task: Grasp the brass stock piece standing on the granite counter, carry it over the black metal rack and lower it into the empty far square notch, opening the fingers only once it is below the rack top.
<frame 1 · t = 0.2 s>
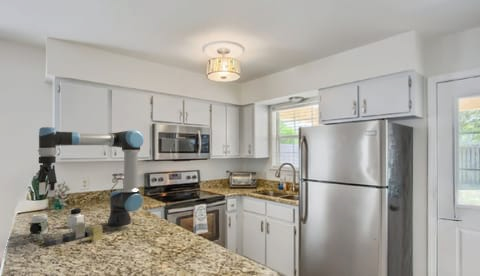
hand: (46, 195, 148), 27 cm above the countertop, fingers open, 13 cm apart
light grey upright block: (78, 237, 162), resting on rack
pneumatic valve: (39, 240, 160), on the countertop
rack: (69, 240, 158), on the countertop
brass stock piece: (95, 240, 158), on the countertop
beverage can: (39, 234, 171), on the countertop
medicine bottle: (75, 226, 188), on the countertop
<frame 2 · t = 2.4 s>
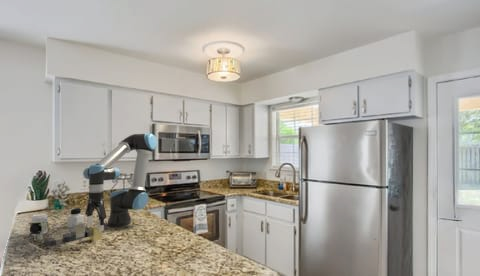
hand: (95, 229, 158), 6 cm above the countertop, fingers open, 13 cm apart
nothing on the countertop moved.
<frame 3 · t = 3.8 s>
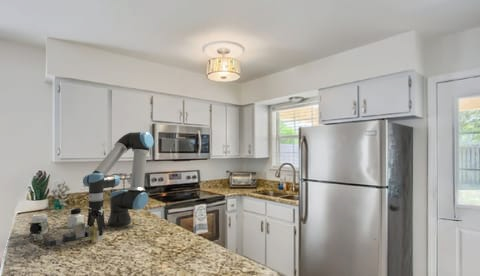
hand: (95, 239, 158), 0 cm above the countertop, fingers open, 9 cm apart
nothing on the countertop moved.
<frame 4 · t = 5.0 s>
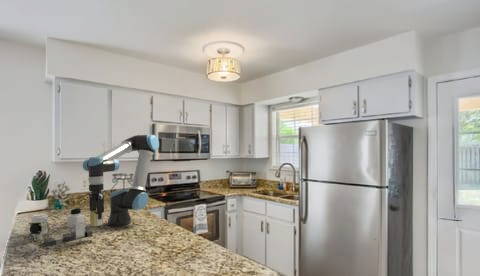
hand: (96, 223, 159), 9 cm above the countertop, fingers closed on brass stock piece, 5 cm apart
brass stock piece: (96, 224, 159), point 9 cm above the countertop, touching gripper
everything else where it was.
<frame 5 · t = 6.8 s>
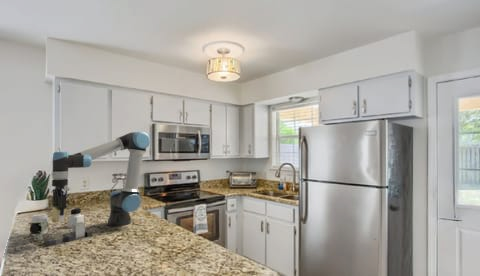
hand: (59, 220, 155), 12 cm above the countertop, fingers closed on brass stock piece, 5 cm apart
brass stock piece: (58, 221, 155), point 12 cm above the countertop, touching gripper
everything else where it was.
when the fingers open (1 cm above the countertop, at t = 8.9 s): brass stock piece stays where it is, resting on rack.
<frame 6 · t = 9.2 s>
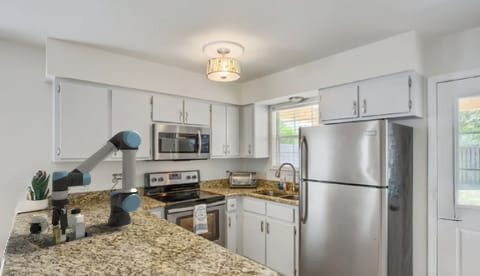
hand: (59, 238, 155), 2 cm above the countertop, fingers open, 9 cm apart
brass stock piece: (59, 241, 154), resting on rack
everything else where it was.
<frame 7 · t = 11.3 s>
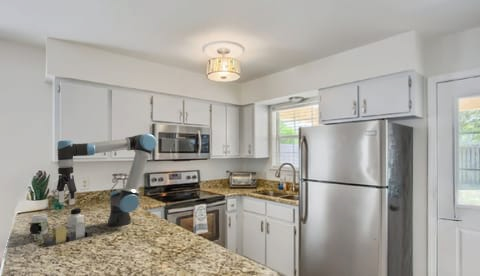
hand: (66, 203, 160), 21 cm above the countertop, fingers open, 13 cm apart
nothing on the countertop moved.
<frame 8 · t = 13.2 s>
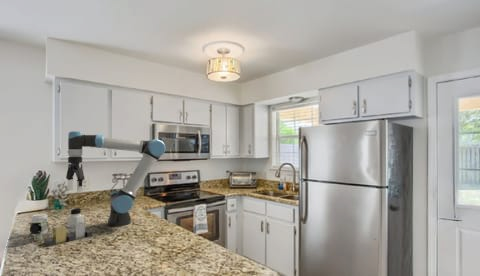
hand: (74, 191, 169), 27 cm above the countertop, fingers open, 13 cm apart
nothing on the countertop moved.
at the end: brass stock piece 0.1 cm from the target spot on the rack, point 0.4 cm above the rack's base; brass stock piece tilted 0°; the gripper is holding nothing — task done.
